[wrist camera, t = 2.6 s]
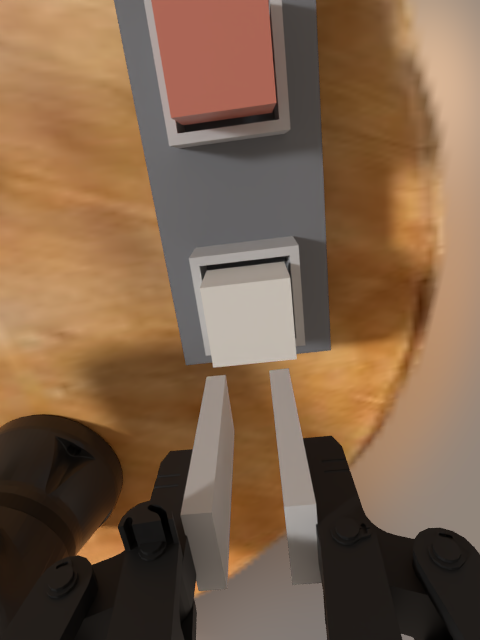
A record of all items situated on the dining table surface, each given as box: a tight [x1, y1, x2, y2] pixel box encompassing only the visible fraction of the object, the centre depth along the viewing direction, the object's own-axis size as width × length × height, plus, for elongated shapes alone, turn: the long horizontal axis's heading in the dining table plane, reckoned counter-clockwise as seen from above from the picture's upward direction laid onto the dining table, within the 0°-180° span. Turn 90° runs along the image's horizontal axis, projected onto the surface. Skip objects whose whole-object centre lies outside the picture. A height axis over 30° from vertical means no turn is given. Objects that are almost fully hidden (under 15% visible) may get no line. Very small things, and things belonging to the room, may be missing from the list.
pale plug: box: [200, 262, 297, 368], centre depth 25 cm, size 5×5×4 cm
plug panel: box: [114, 0, 331, 365], centre depth 28 cm, size 26×12×8 cm, turn 7°
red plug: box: [151, 0, 276, 125], centre depth 20 cm, size 5×5×4 cm
